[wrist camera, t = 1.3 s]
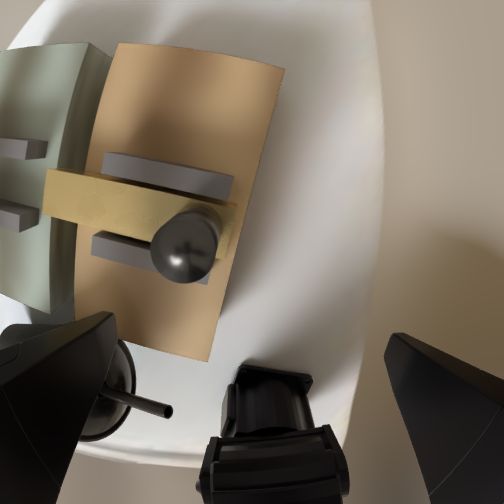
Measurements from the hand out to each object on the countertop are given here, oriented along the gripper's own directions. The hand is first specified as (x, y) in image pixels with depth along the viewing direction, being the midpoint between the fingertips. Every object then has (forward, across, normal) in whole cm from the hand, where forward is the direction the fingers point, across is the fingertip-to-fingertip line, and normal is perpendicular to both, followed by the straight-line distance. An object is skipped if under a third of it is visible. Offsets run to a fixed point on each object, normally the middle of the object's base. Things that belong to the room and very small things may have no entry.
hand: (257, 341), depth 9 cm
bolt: (+7, +6, -3) cm, 10 cm away
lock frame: (+12, +11, -3) cm, 17 cm away
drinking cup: (+10, +20, +12) cm, 26 cm away
